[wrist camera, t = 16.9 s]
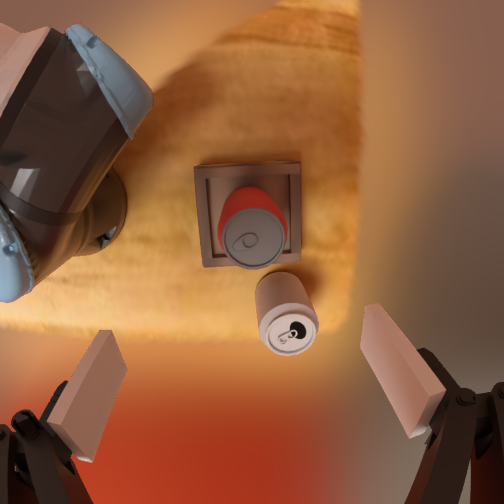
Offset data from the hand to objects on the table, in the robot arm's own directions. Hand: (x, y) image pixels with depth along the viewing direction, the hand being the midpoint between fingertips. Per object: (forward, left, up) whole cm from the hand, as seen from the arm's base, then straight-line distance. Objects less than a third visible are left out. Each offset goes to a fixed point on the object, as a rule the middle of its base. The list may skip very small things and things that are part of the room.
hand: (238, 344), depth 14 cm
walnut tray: (+1, +1, -28) cm, 28 cm away
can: (+5, -12, -28) cm, 31 cm away
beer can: (+1, +2, -24) cm, 24 cm away
